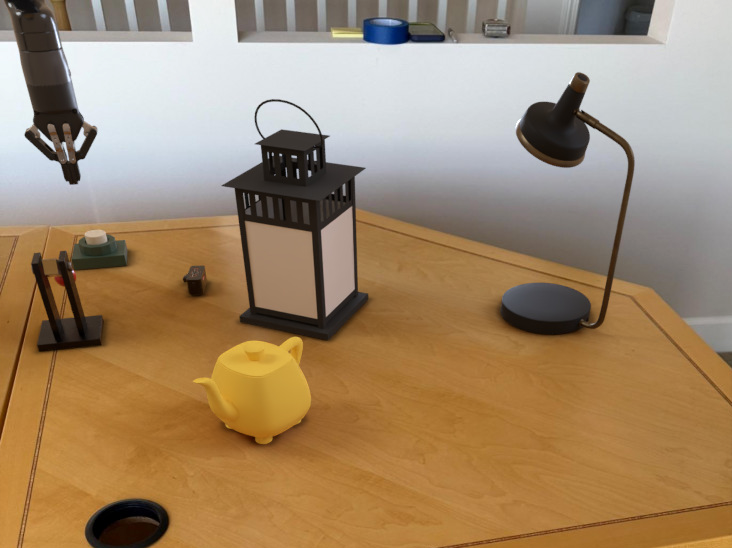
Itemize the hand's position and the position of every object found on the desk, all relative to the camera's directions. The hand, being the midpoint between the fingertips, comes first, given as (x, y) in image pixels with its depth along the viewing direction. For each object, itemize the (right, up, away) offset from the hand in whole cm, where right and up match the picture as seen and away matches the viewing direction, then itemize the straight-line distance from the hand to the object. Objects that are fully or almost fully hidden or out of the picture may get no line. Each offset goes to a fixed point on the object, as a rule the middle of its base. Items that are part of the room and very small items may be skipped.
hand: (74, 183), depth 145 cm
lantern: (+44, -25, -4) cm, 51 cm away
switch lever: (+4, -24, -15) cm, 28 cm away
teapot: (+41, -50, -32) cm, 72 cm away
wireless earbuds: (+22, -19, +2) cm, 29 cm away
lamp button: (+1, -8, +9) cm, 12 cm away
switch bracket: (+5, -32, -12) cm, 35 cm away
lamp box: (+1, -10, +11) cm, 15 cm away
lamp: (+89, -27, -5) cm, 93 cm away
